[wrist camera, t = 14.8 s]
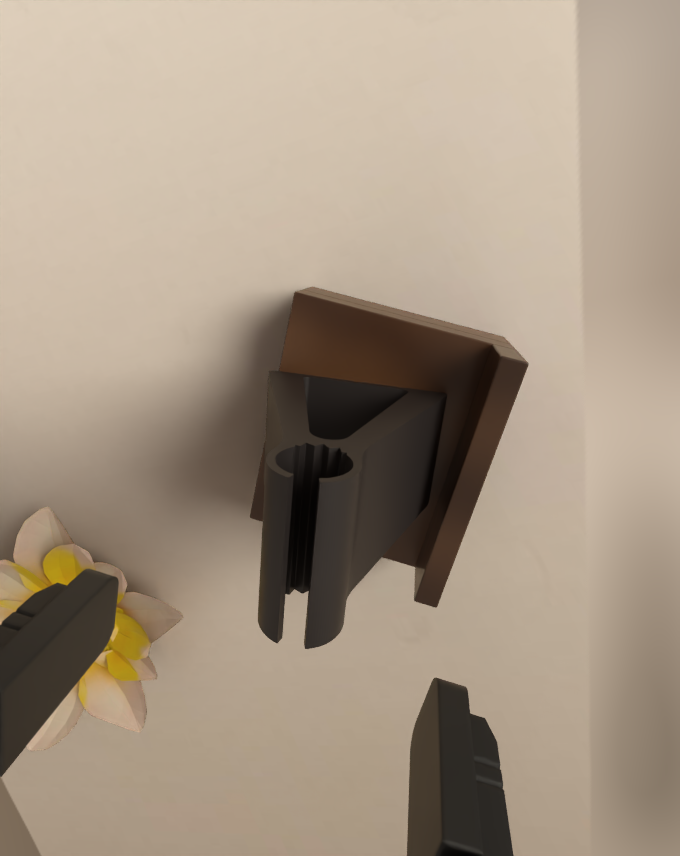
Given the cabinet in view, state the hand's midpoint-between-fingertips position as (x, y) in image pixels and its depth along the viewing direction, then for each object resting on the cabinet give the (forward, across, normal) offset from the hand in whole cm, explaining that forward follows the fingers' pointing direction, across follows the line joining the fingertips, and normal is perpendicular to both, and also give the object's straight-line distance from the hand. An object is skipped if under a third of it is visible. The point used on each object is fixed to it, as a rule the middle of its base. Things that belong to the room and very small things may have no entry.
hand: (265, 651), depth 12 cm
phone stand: (+15, 0, 0) cm, 15 cm away
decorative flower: (+20, +14, +19) cm, 31 cm away
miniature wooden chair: (+19, -1, 0) cm, 19 cm away
